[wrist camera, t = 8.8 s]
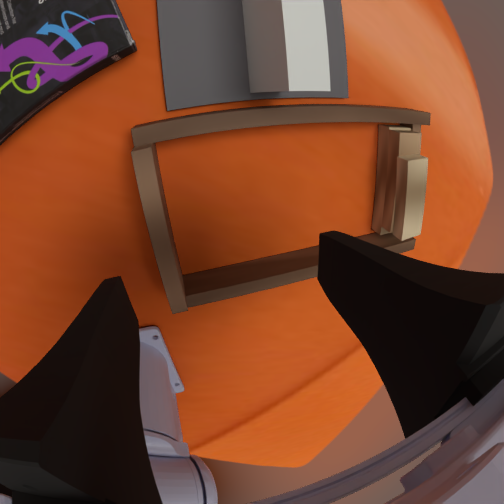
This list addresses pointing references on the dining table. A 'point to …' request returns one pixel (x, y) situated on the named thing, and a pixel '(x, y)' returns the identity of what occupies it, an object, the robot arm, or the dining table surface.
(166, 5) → the mat
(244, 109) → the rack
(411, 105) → the dining table surface
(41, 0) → the box
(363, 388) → the dining table surface
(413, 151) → the offcuts
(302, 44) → the light grey block
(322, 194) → the dining table surface
